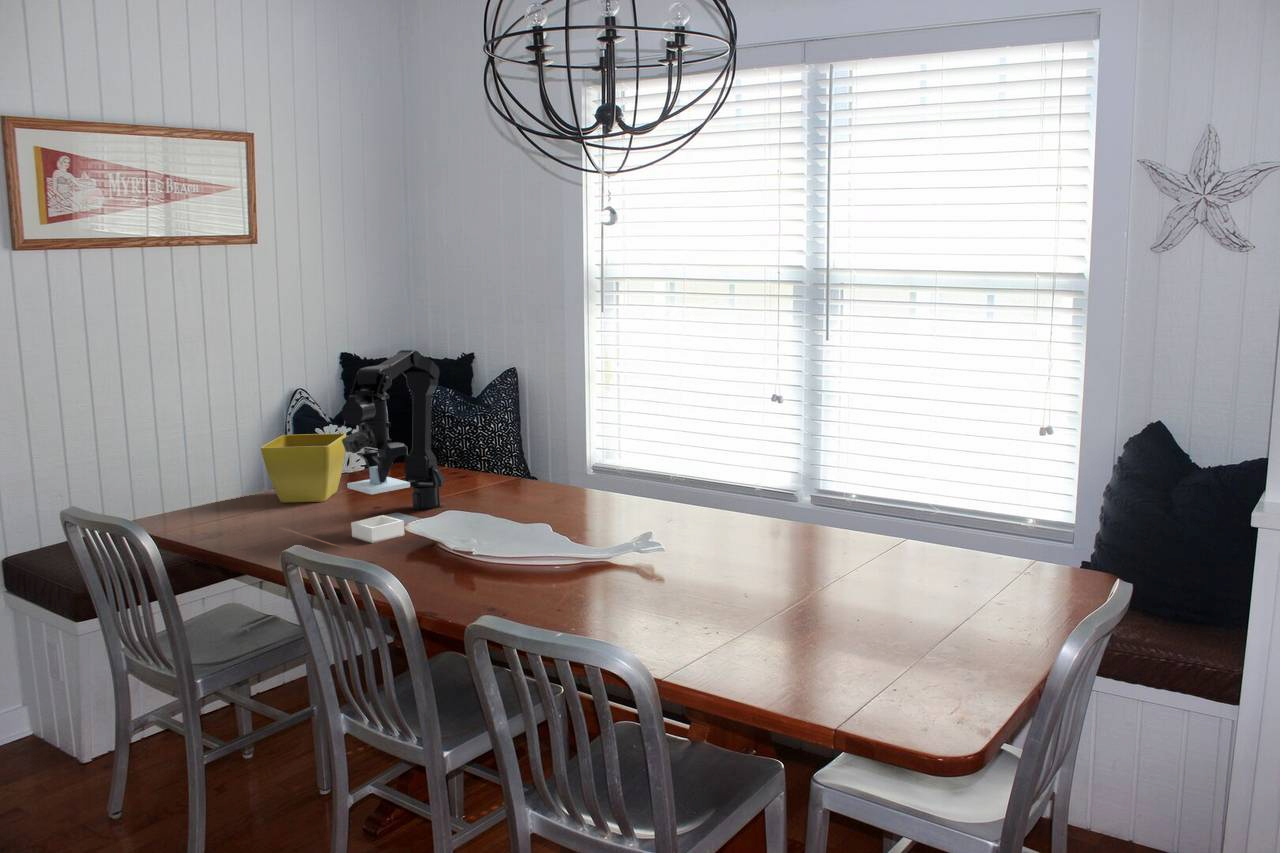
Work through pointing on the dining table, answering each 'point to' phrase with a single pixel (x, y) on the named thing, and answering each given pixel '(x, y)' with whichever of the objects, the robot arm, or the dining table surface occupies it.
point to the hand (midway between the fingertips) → (378, 481)
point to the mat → (403, 517)
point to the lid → (377, 483)
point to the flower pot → (305, 466)
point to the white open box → (377, 528)
